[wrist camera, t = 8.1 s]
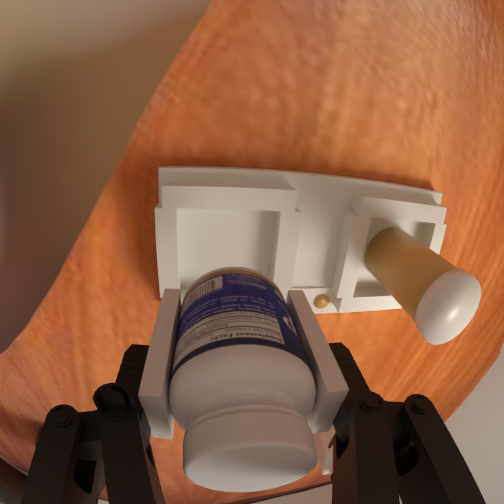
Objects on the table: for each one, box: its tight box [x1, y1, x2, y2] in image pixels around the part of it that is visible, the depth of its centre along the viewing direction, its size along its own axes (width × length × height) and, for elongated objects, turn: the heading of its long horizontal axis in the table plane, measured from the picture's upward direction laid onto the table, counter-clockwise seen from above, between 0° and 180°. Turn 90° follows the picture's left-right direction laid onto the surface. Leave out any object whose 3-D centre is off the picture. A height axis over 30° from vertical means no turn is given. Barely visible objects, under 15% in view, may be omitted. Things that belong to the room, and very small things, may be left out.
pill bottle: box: [169, 267, 317, 492], centre depth 11 cm, size 5×5×9 cm
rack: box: [155, 166, 481, 345], centre depth 19 cm, size 24×12×11 cm, turn 86°
